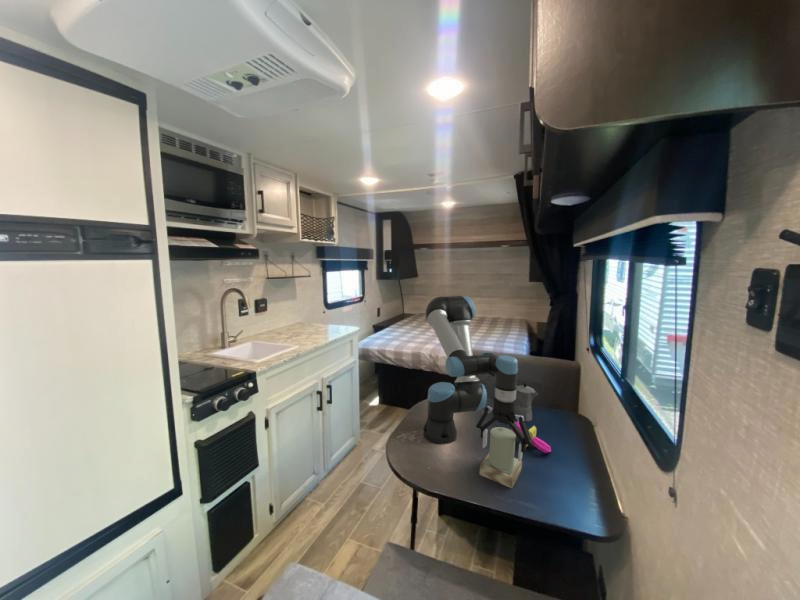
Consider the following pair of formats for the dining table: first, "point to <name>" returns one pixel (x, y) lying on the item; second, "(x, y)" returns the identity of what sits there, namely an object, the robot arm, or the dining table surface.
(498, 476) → the pedestal
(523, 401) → the coffeepot
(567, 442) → the dining table surface
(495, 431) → the can
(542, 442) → the toy
